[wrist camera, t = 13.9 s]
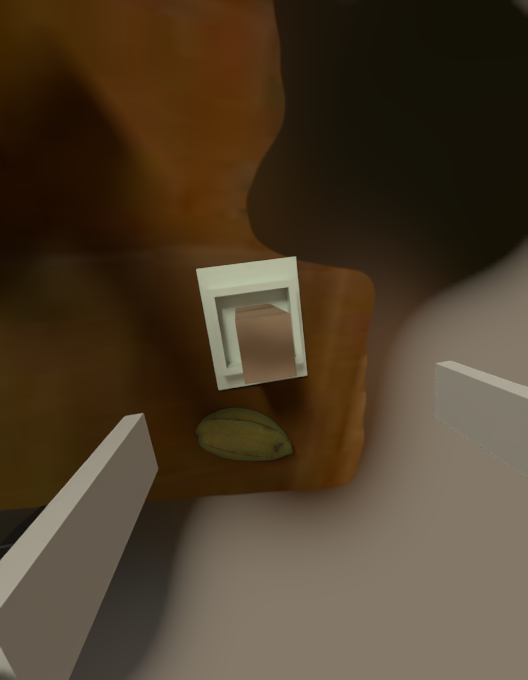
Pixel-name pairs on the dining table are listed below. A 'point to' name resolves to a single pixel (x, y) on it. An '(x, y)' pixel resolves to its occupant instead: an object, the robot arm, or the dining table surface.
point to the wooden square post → (265, 343)
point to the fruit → (242, 435)
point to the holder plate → (244, 291)
